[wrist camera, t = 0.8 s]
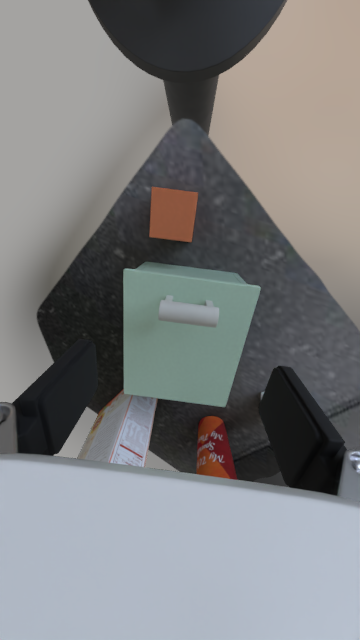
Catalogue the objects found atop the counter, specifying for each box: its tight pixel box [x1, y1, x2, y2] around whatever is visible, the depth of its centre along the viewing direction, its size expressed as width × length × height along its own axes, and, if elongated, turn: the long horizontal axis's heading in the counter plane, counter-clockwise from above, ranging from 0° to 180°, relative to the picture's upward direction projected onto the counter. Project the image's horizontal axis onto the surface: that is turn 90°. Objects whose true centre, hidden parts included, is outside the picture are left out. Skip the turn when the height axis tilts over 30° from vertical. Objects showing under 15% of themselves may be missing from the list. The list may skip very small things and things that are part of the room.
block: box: [149, 187, 198, 242], centre depth 25 cm, size 5×5×5 cm
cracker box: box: [77, 389, 157, 467], centre depth 32 cm, size 14×6×21 cm, turn 137°
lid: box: [123, 268, 261, 407], centre depth 21 cm, size 16×14×5 cm
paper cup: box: [197, 416, 237, 480], centre depth 37 cm, size 8×8×14 cm
